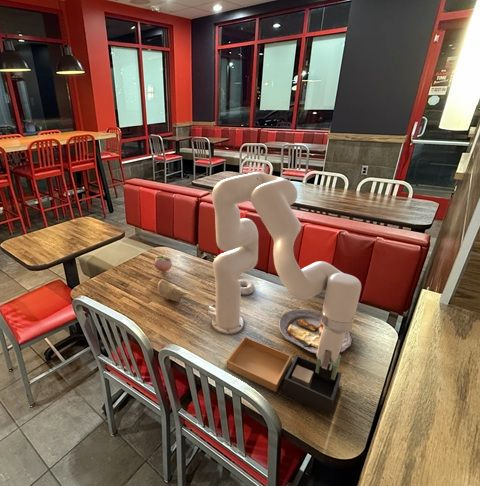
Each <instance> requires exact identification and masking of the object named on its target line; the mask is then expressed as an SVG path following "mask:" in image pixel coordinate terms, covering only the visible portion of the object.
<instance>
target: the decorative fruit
mask: <svg viewBox="0 0 480 486" xmlns="http://www.w3.org/2000/svg"><path fill="white" fill-rule="evenodd" d="M154 258H155V259H154V262H153V265H154V267H155V269H156V270H157V271H160V272H162V273H165V272H168V271H170V269H171V268H172V264H173V262H172V259H171V258H170V257H169V256H168V255H164V254H161V255H155V257H154Z"/></svg>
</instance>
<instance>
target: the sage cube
mask: <svg viewBox="0 0 480 486" xmlns="http://www.w3.org/2000/svg"><path fill="white" fill-rule="evenodd" d="M330 358H331V357H330ZM341 358H342V355H341V354H339V355H338V358H337V360H336V362H335V363H334V364H333V365H332V368H333V371H332V375H331V379H333V380H335V377H336V374H337V371H338V372H339V368H340V363H341ZM321 361H322V358H321V359H320V358H317V361H316V363H317V366H316V373H319V367H320V364H321ZM330 363H331V362H329V363H328V365H330Z"/></svg>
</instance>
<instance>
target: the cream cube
mask: <svg viewBox="0 0 480 486" xmlns="http://www.w3.org/2000/svg"><path fill="white" fill-rule="evenodd" d="M312 377H313V371H310V370H308V369H306V368H303V367H301V366H299V365H297V366H296V368H295V370H294V372H293V374H292V377H291V380H292V381H294V382H297V383H299V384H301V385H303V386H305V387H308V388H310V385H311V383H312Z"/></svg>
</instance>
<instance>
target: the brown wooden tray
mask: <svg viewBox="0 0 480 486" xmlns="http://www.w3.org/2000/svg"><path fill="white" fill-rule="evenodd" d="M292 356H293V355H291V354H289V353H286V352H284V351H282V350H279V349H276V348H274V347H273V346H272V347H271V346H269V345H267V344H265V343H261V342H260V341H257V340H255V339H252V338H249V337H247V336H244V337H243V338H242V340H241V341H240V342H239V344H238V345H237V346H236V347H235V349H234V351H233V352H232V353H231V354H230V355H229V357H228V358H227V360H226V363H225V367H226V369H228V370H229V371H231V372H234V373H236V374H238V375H240V376H242V377H243V378H246V379H248V380H250V381H252V382H254V383H256V384H258V385H260V386H262V387H264V388H266V389H269V390H270V391H272V392H274V393H277V391H278V389H279V387H280V385H281V383H282V381H283V379H284V377H285V376H286V373H287V372H288V370H289V368H290V366H291V364H292V358H293V357H292Z"/></svg>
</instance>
